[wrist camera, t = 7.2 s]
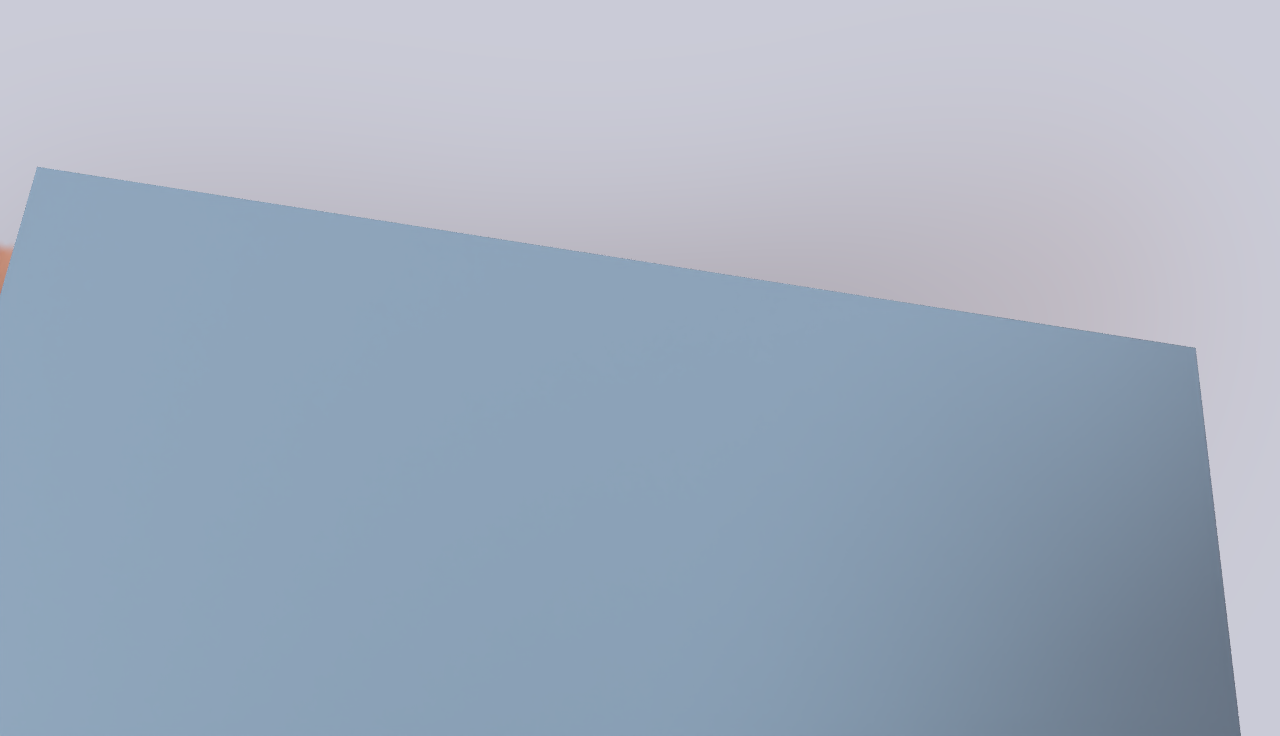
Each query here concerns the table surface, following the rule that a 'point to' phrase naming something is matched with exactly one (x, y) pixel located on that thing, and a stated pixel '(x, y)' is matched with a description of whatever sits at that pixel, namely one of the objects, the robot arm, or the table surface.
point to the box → (571, 495)
